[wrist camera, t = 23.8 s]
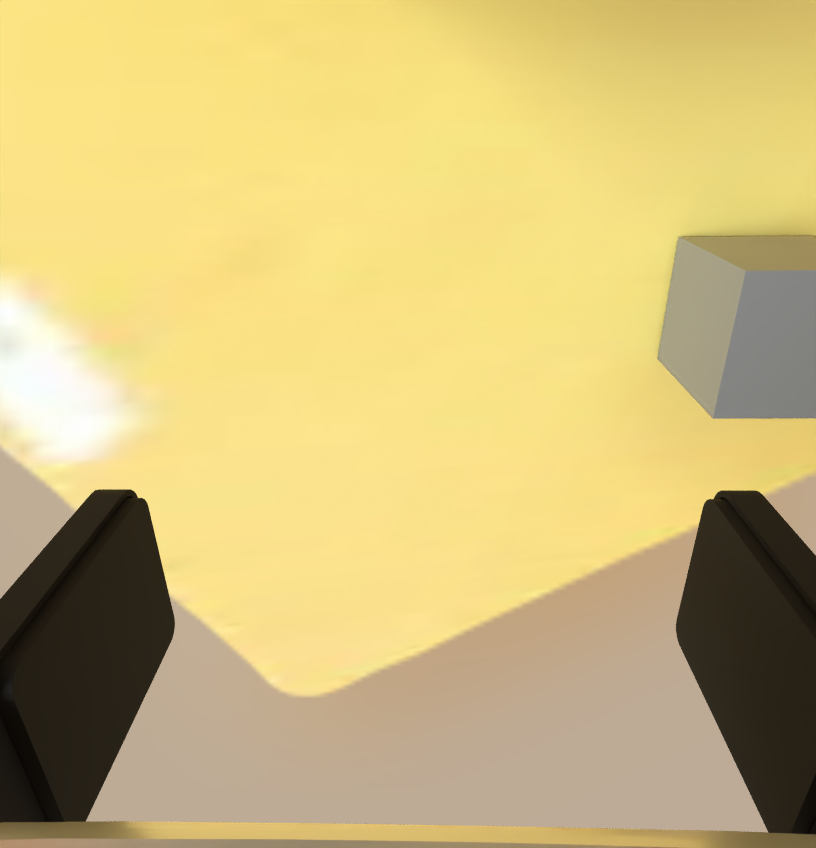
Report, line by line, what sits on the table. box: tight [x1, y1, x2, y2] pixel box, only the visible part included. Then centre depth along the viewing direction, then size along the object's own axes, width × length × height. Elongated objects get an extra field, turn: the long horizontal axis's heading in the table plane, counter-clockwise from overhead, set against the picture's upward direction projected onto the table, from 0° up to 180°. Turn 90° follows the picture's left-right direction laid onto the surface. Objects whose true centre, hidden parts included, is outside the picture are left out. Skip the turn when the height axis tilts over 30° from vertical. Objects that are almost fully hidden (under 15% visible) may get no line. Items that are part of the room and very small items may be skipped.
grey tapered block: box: [657, 235, 816, 418], centre depth 35 cm, size 8×8×9 cm
